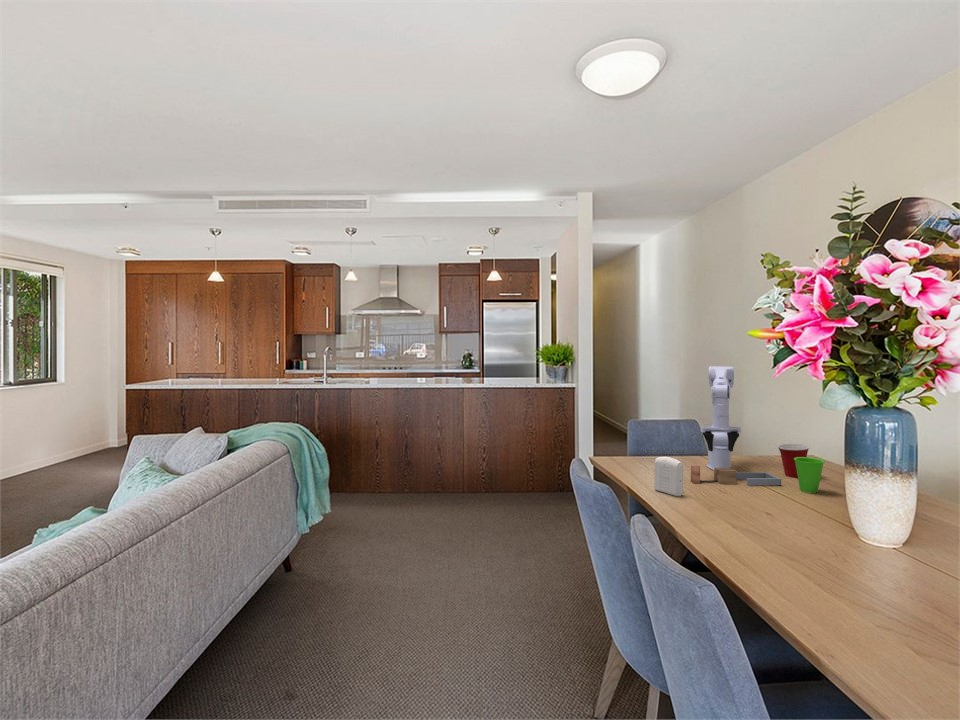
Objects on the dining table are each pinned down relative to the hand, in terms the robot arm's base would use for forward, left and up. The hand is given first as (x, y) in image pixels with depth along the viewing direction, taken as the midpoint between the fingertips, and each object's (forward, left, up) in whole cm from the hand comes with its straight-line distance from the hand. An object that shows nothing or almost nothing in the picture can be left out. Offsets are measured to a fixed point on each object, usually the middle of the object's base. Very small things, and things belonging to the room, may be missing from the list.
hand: (720, 450), depth 196 cm
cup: (+19, +22, -11) cm, 31 cm away
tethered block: (+7, -6, -10) cm, 14 cm away
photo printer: (+20, -27, -11) cm, 35 cm away
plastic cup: (-2, +29, -11) cm, 31 cm away
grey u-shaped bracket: (+7, +10, -10) cm, 16 cm away
